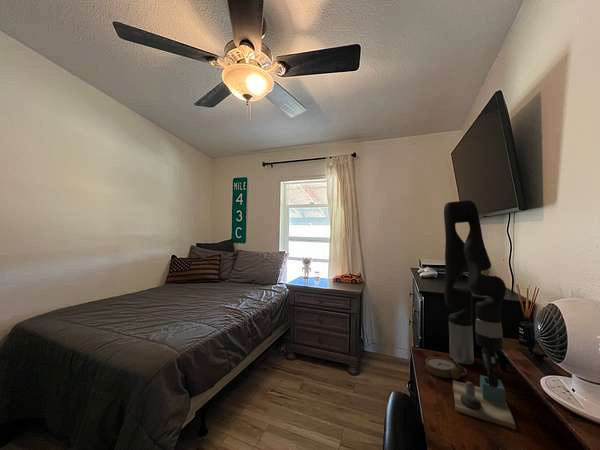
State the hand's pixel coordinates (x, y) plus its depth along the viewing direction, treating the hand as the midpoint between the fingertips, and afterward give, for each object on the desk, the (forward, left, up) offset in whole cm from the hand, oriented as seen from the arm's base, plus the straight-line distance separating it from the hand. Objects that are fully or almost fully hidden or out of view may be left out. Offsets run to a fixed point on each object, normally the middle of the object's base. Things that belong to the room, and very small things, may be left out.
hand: (490, 379), depth 82 cm
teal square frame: (-1, 0, -6) cm, 6 cm away
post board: (+3, -4, -7) cm, 9 cm away
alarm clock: (-13, -13, -8) cm, 20 cm away
